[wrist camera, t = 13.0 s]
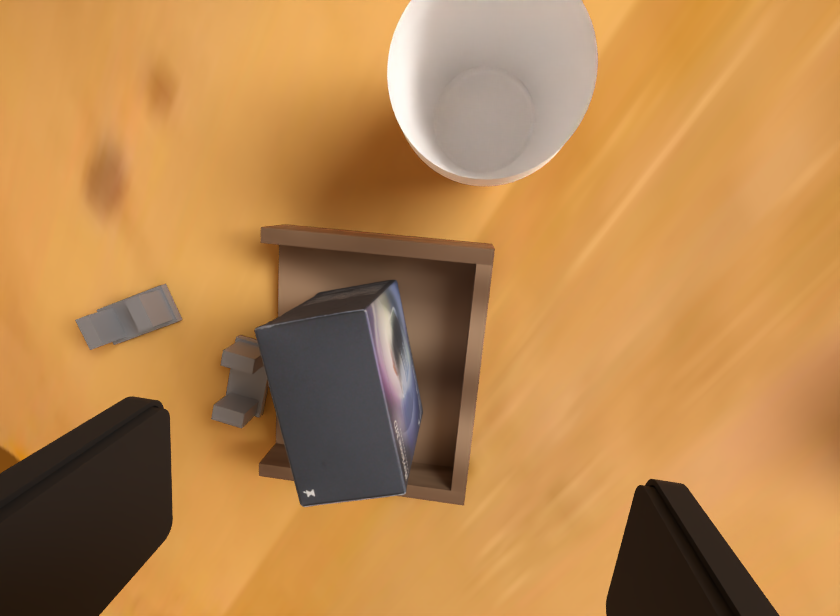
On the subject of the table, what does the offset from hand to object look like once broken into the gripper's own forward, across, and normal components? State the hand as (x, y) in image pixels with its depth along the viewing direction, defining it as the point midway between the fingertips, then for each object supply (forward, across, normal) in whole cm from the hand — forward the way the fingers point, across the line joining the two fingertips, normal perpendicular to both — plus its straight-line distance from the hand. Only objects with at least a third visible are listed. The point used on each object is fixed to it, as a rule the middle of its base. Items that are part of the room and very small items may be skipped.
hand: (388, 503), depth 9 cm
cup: (+26, -1, -10) cm, 28 cm away
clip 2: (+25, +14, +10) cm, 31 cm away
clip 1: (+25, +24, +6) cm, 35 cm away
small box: (+24, +5, +6) cm, 26 cm away
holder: (+25, +4, +7) cm, 26 cm away
